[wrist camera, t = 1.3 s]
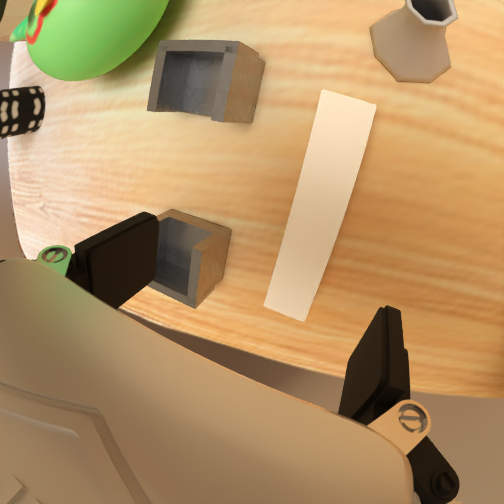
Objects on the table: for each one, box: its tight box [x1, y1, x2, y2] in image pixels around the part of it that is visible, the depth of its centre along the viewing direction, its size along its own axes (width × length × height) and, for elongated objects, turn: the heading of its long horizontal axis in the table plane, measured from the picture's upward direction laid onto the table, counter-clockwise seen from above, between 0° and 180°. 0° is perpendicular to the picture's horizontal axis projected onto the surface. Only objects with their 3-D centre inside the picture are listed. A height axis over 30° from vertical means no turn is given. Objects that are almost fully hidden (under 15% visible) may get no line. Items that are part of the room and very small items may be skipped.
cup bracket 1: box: [147, 40, 265, 123], centre depth 22 cm, size 8×6×6 cm
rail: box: [264, 89, 377, 322], centre depth 24 cm, size 4×19×5 cm, turn 167°
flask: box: [369, 0, 458, 83], centre depth 13 cm, size 7×7×10 cm
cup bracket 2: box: [147, 209, 231, 309], centre depth 31 cm, size 8×6×6 cm
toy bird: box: [10, 0, 169, 81], centre depth 18 cm, size 18×17×15 cm
